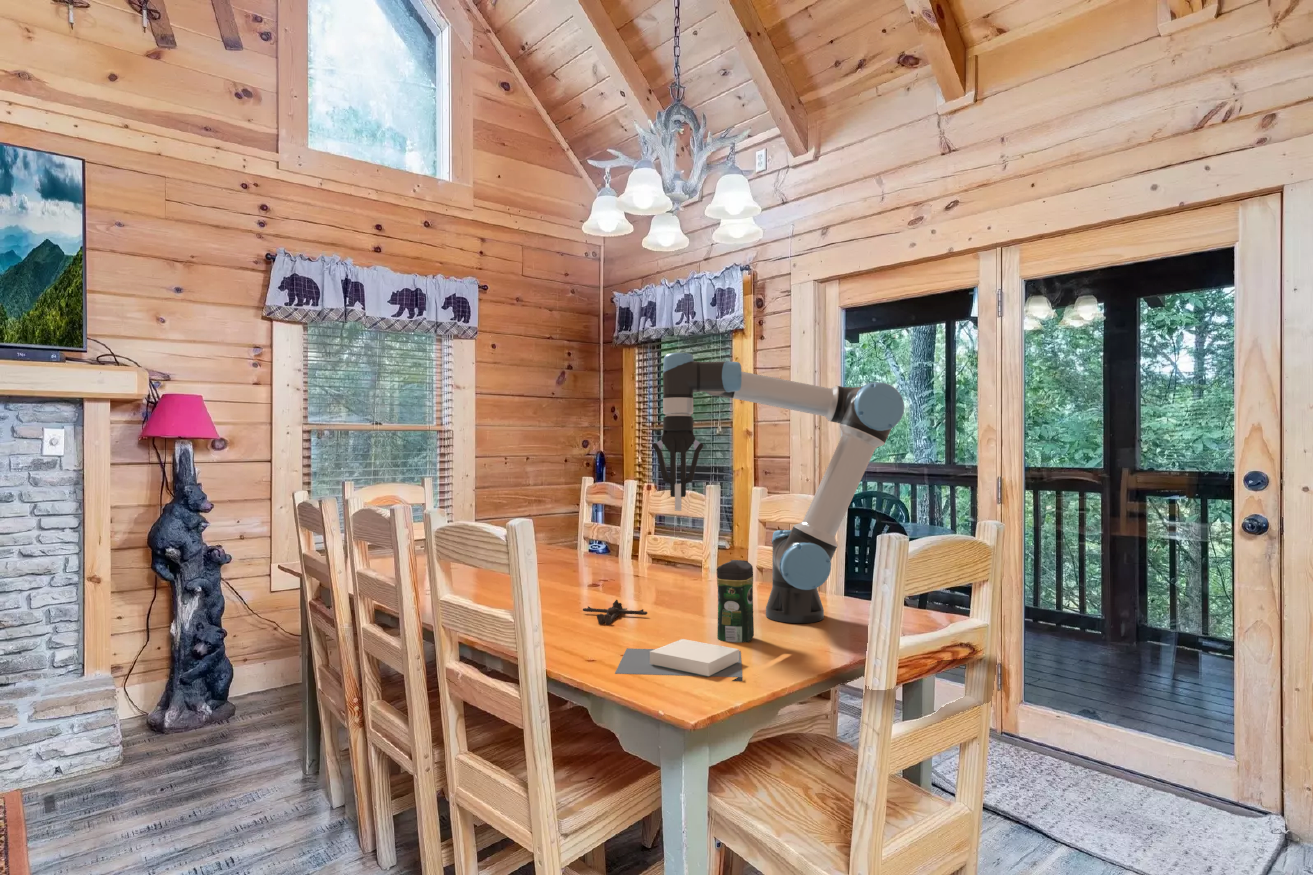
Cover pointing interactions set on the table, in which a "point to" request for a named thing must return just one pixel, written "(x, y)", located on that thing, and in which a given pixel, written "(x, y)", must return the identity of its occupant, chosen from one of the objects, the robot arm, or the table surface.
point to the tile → (694, 657)
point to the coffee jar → (735, 601)
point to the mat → (640, 664)
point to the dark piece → (612, 612)
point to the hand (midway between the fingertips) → (678, 510)
